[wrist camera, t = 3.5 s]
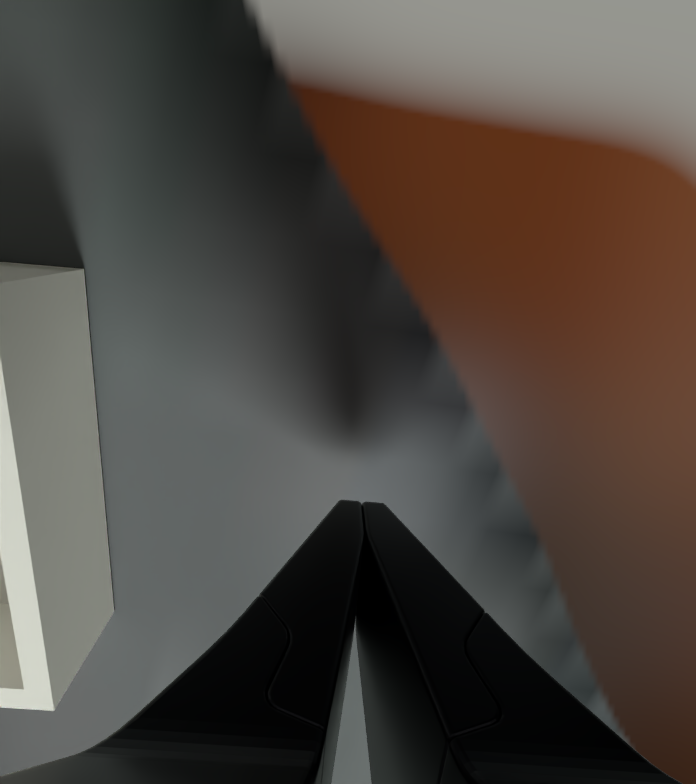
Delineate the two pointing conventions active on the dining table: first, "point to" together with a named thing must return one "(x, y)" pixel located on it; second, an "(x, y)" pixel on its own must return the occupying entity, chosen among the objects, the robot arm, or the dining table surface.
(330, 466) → the dining table surface
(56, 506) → the shell lid
